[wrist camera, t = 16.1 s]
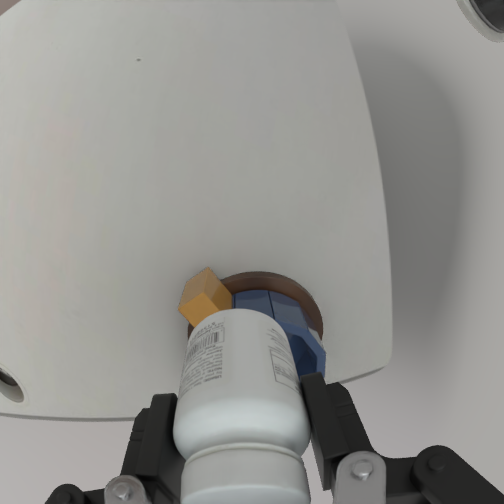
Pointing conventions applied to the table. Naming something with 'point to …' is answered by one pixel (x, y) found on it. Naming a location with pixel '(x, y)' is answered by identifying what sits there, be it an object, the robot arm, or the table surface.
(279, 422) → the pill bottle
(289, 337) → the serving bowl
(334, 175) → the table surface
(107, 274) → the table surface
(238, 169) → the table surface
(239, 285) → the turntable
